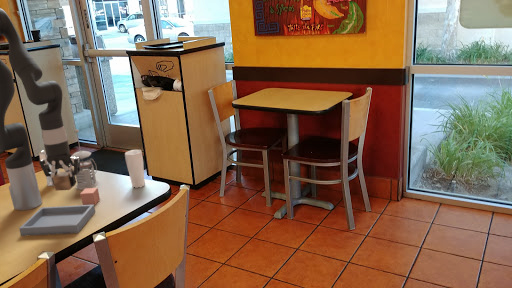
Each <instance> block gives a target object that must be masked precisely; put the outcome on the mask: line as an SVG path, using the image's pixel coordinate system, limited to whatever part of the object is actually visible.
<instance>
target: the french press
mask: <svg viewBox="0 0 512 288" xmlns="http://www.w3.org/2000/svg"><path fill="white" fill-rule="evenodd" d="M73 133H75V134H76V137H77V142H78V147H79V151H76V152H74V153H73V154H71V156H72V157H76V158H77V157H80V160H81V161H80V172H79V173H78V174H77V175H75V178H76V184H75V189H77V190H81V191H83V190H84V189H86V188H96V187H97V186H99V184H100V182H99V181H98V180H97V178H96V174H97V170H98V168H97V163H95V162H96V161H94V159H93V158H89V159H86V158H88V157H91V155H92V152H90V151H87V150H81V146H80V140H79V136H78V133H80V129H74V131H73ZM83 159H86V160H83ZM93 163H94V165H95V166H94V165H93ZM94 167H95V168H94Z"/></svg>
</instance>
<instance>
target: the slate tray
mask: <svg viewBox="0 0 512 288" xmlns="http://www.w3.org/2000/svg"><path fill="white" fill-rule="evenodd" d="M95 213H96V208H95V205H82V204H79V205H63V206H62V205H61V206H44V207H43V206H42V207H40V208H39V209H38V210H37V211H36V212H35V213H34V214H32V216H31V217H29V218H28V219H27V220H26V221H25V222H24V223H23V224H22V225H20V227H19V228H18V229H19V233H20V237H26V236H27V235H31V236H45V235H46V236H48V234H49V235H66V234H79V233H80V232H81V230H82V229H83V228H84V227H85V225H86V224H87V222H89V220H90V219H91V218H92V217H93V216H94V214H95Z"/></svg>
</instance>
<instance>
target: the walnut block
mask: <svg viewBox="0 0 512 288" xmlns="http://www.w3.org/2000/svg"><path fill="white" fill-rule="evenodd" d="M69 177H70V176H69V175H68V173H67V172H66V171H59V172H58V173H57V174H56V175H55V176H54V177H53V182H54V186H53V187H54V189H55V191H57V192H58V191H59V192H60V191H70V190H71V189H72V188H73V187H71V184H70V180H69Z"/></svg>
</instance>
